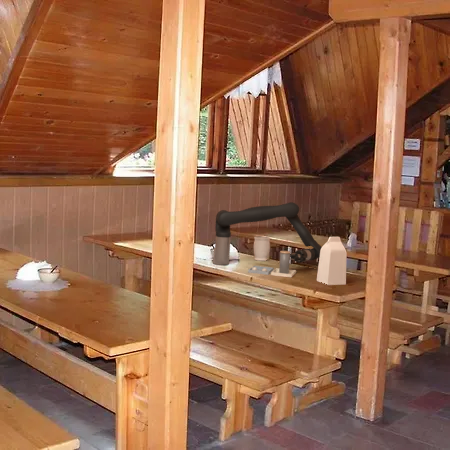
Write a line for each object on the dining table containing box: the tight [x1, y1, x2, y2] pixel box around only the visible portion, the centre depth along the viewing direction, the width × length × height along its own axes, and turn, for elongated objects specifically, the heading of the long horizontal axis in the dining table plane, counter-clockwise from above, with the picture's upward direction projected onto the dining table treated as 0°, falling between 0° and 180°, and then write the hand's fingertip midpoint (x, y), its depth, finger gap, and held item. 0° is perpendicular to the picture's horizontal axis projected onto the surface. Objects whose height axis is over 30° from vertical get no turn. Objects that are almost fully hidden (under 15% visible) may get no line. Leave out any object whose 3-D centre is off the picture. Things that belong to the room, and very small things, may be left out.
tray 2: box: [270, 267, 297, 278], centre depth 390 cm, size 12×15×2 cm
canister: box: [278, 250, 291, 274], centre depth 390 cm, size 6×6×13 cm
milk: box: [316, 236, 348, 286], centre depth 375 cm, size 12×12×26 cm
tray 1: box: [248, 265, 275, 276], centre depth 394 cm, size 12×15×2 cm
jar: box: [253, 235, 271, 262], centre depth 437 cm, size 11×10×15 cm
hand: (288, 258), depth 393 cm, fingers open, 8 cm apart
